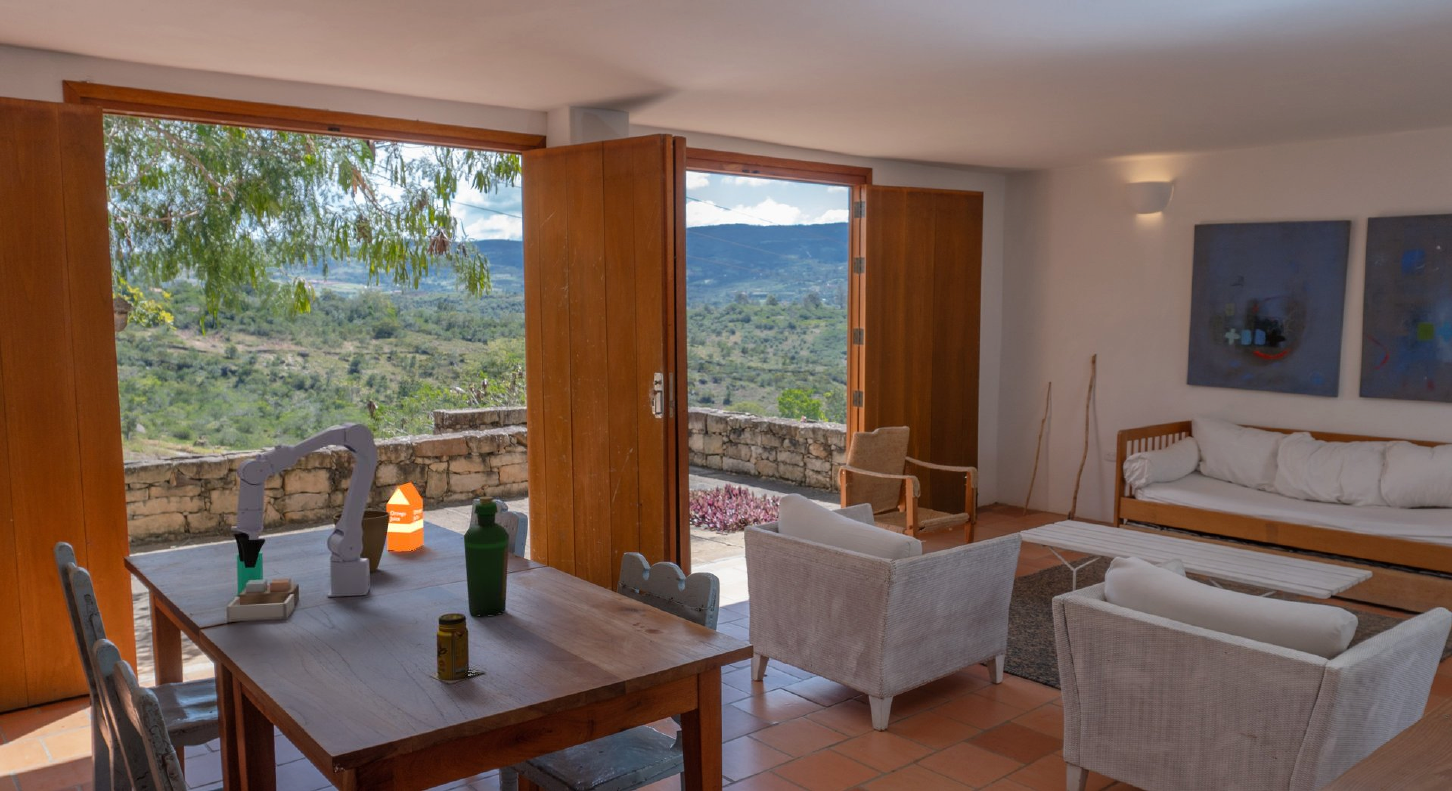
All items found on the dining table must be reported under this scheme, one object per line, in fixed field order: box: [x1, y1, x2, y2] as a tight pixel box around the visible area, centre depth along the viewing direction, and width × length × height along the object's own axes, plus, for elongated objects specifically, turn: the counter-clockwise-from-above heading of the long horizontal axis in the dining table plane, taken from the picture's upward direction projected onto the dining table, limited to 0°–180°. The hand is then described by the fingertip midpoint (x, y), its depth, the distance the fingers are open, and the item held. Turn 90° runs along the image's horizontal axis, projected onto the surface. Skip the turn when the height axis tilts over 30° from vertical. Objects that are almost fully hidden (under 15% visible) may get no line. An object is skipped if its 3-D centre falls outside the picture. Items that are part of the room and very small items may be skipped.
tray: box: [226, 594, 295, 623], centre depth 239 cm, size 13×9×4 cm, turn 102°
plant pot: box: [333, 509, 390, 573], centre depth 282 cm, size 15×15×16 cm
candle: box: [236, 550, 264, 596], centre depth 258 cm, size 6×6×12 cm
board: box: [238, 583, 300, 607], centre depth 247 cm, size 12×8×4 cm, turn 102°
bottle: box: [463, 496, 510, 617], centre depth 241 cm, size 11×11×28 cm
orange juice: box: [386, 481, 424, 552], centre depth 310 cm, size 8×9×20 cm
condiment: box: [428, 612, 486, 684], centre depth 199 cm, size 7×8×12 cm
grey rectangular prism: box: [246, 579, 268, 592], centre depth 246 cm, size 4×4×2 cm
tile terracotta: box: [269, 577, 292, 591], centre depth 247 cm, size 4×4×2 cm
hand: (247, 564), depth 244 cm, fingers open, 7 cm apart
